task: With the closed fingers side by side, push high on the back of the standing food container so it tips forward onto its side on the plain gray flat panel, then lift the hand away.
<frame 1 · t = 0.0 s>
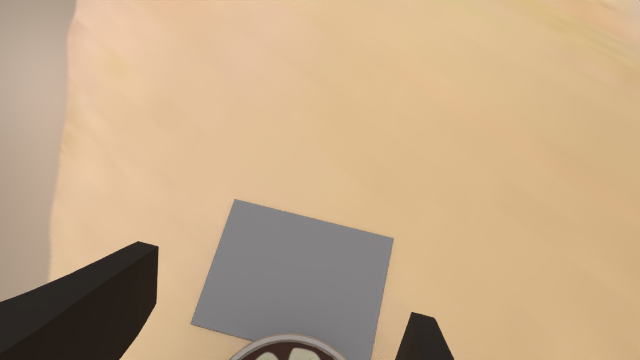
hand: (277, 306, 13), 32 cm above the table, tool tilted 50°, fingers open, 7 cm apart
plain gray flat panel: (296, 279, 45), on the table
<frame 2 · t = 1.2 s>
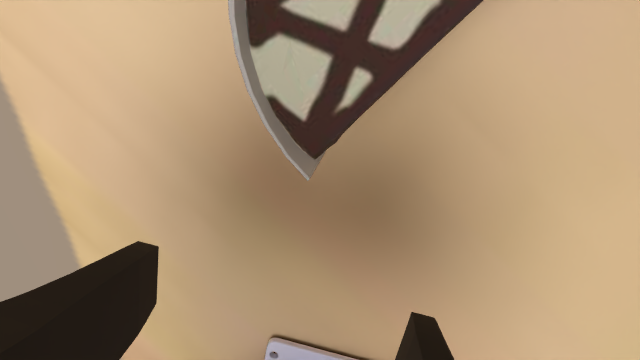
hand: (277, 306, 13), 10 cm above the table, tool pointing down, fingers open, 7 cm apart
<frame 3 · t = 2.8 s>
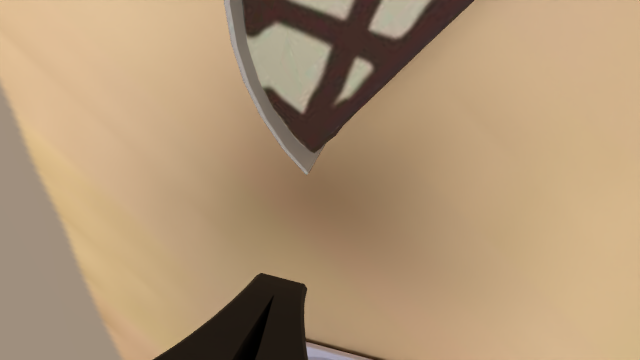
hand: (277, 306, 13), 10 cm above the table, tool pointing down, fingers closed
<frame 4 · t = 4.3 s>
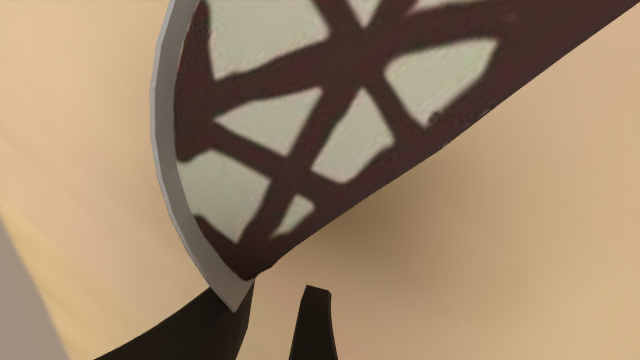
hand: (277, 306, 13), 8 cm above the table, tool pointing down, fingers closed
food container: (372, 7, 17), on the table, touching gripper, plain gray flat panel
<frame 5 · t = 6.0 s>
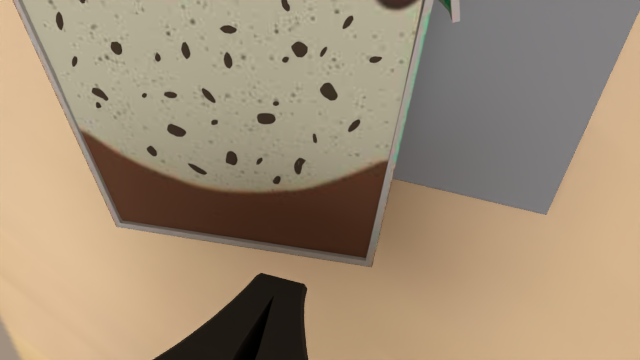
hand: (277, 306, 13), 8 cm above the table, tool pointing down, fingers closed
food container: (265, 197, 18), point 2 cm above the table, touching plain gray flat panel
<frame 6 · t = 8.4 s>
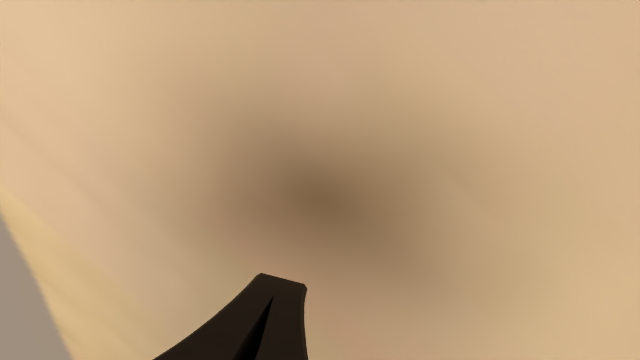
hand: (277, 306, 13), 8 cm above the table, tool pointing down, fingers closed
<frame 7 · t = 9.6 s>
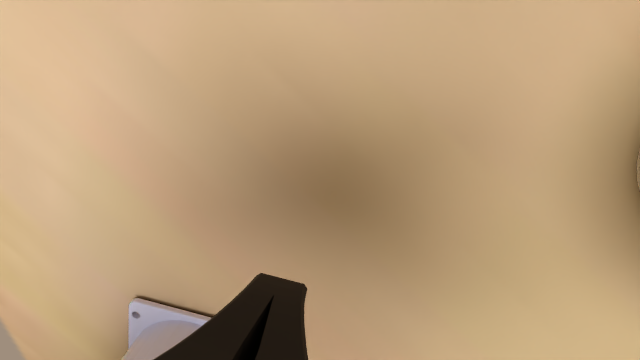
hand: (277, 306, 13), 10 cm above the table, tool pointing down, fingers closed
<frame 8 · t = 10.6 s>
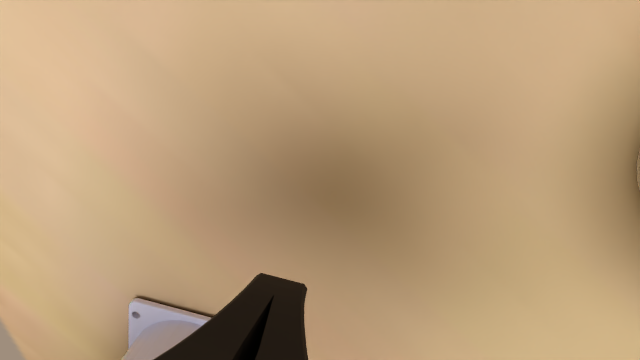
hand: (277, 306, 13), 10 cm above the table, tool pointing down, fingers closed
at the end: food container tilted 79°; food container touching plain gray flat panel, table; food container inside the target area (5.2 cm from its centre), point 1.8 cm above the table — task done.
